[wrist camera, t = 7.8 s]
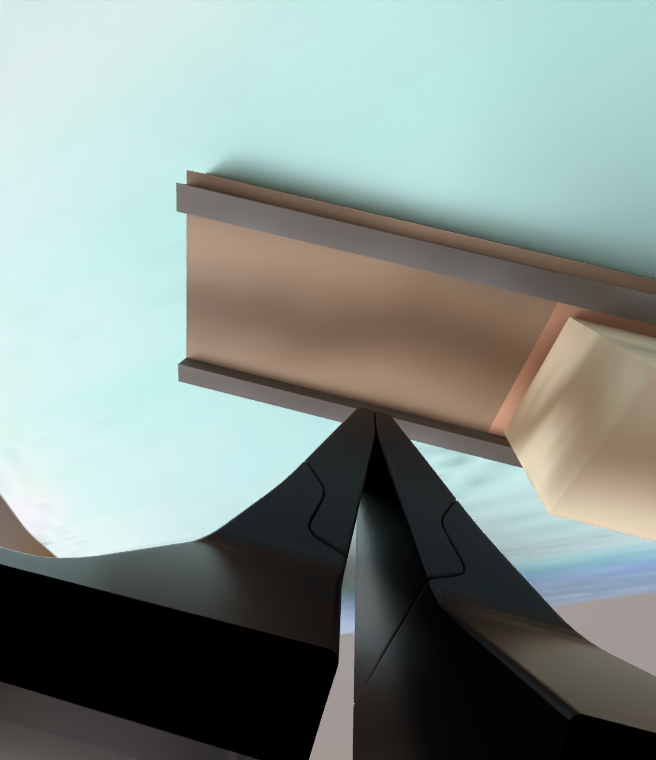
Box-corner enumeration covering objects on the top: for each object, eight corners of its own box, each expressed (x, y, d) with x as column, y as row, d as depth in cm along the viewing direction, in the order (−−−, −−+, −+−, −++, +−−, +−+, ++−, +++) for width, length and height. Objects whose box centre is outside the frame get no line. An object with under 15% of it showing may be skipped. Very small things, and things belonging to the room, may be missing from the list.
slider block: (624, 462, 16) (714, 556, 12) (503, 432, 17) (548, 513, 12) (716, 351, 14) (878, 422, 9) (569, 316, 14) (658, 369, 9)
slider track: (713, 498, 19) (803, 577, 15) (200, 370, 20) (153, 412, 16) (889, 334, 14) (1091, 384, 10) (204, 173, 15) (140, 161, 11)
